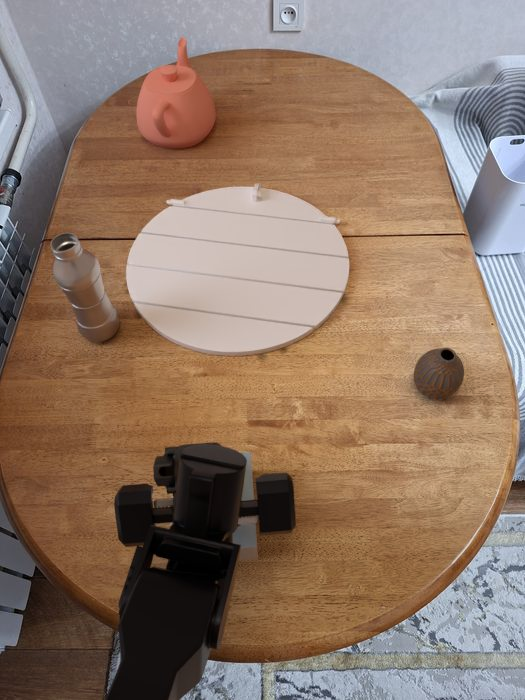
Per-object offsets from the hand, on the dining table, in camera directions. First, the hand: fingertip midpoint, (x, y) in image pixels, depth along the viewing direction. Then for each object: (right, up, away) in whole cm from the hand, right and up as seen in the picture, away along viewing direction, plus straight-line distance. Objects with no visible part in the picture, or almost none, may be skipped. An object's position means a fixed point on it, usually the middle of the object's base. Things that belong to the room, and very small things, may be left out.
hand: (210, 477), depth 67 cm
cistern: (0, -6, +6) cm, 9 cm away
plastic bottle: (-20, +19, +24) cm, 36 cm away
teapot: (-12, +65, +55) cm, 86 cm away
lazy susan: (+2, +31, +31) cm, 44 cm away
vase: (+32, +10, +16) cm, 37 cm away
